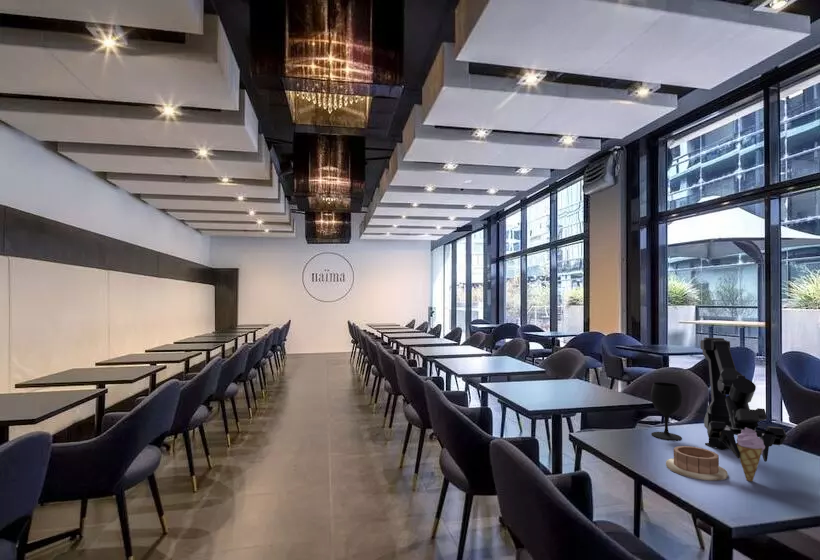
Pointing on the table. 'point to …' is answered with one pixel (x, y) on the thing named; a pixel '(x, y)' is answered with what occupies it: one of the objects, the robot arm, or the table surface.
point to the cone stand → (696, 464)
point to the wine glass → (666, 405)
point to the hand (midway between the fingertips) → (752, 459)
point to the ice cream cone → (749, 451)
